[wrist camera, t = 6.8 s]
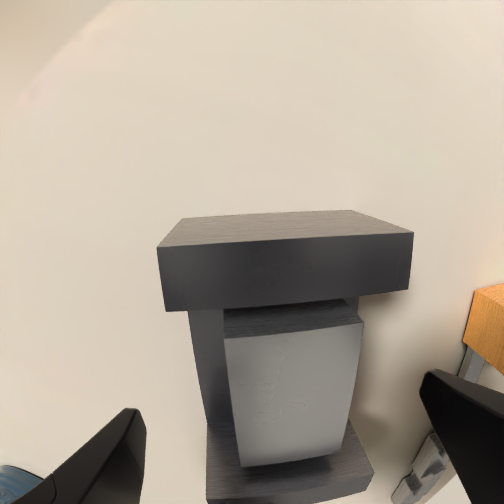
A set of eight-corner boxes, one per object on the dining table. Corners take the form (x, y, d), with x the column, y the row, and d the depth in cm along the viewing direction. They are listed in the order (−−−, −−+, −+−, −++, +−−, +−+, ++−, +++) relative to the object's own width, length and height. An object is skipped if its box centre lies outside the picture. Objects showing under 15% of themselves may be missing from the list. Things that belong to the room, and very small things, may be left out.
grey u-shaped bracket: (332, 414, 13) (365, 490, 8) (211, 428, 13) (212, 513, 8) (351, 210, 10) (438, 241, 6) (181, 218, 10) (145, 260, 5)
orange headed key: (415, 488, 18) (430, 516, 14) (387, 499, 17) (401, 530, 13) (505, 282, 12) (554, 308, 8) (475, 289, 12) (528, 322, 8)
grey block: (318, 400, 11) (339, 451, 8) (236, 410, 11) (240, 466, 8) (327, 281, 10) (363, 322, 7) (223, 290, 10) (223, 338, 7)
